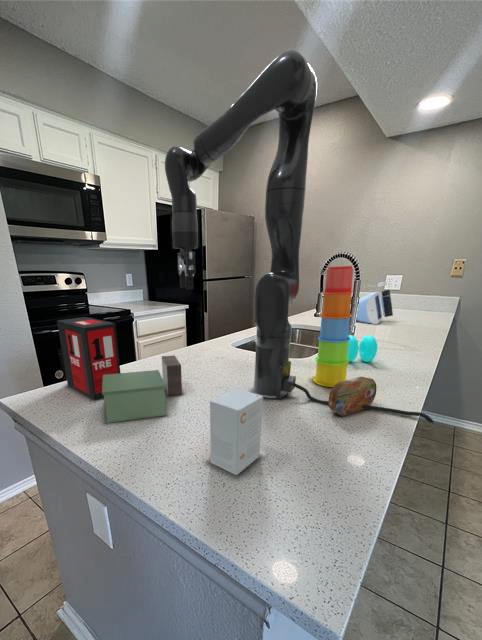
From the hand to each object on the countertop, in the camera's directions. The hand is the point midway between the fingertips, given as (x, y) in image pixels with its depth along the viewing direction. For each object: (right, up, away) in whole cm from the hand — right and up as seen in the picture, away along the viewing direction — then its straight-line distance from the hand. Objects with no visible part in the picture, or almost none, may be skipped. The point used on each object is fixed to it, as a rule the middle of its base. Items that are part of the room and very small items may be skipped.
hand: (186, 288), depth 100 cm
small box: (+12, -45, -38) cm, 59 cm away
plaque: (-4, -31, -3) cm, 32 cm away
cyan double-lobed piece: (+64, -21, +23) cm, 71 cm away
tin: (+43, -37, -17) cm, 59 cm away
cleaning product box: (-28, -31, -3) cm, 42 cm away
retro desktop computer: (+109, +10, +104) cm, 151 cm away
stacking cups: (+45, -29, +2) cm, 54 cm away
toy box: (-12, -36, -16) cm, 41 cm away
